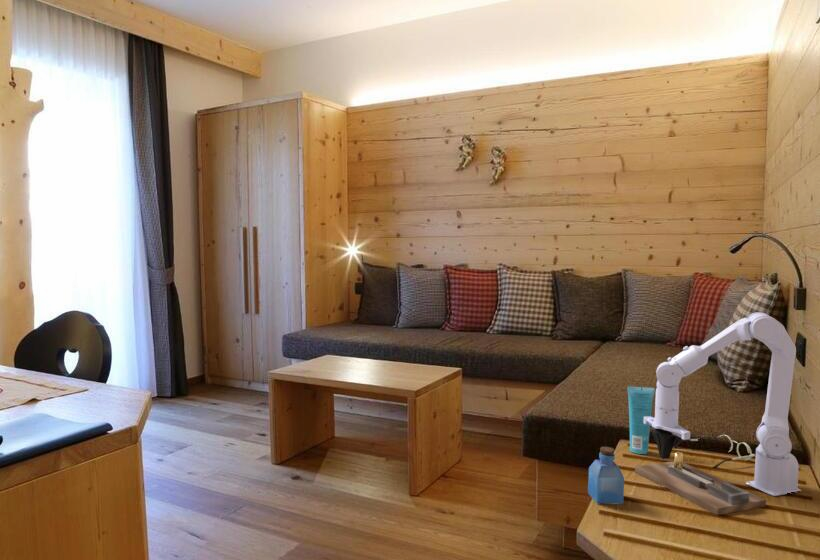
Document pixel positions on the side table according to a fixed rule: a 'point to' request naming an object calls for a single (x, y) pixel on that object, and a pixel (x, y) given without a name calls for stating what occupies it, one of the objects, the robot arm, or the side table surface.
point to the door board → (701, 488)
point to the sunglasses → (728, 451)
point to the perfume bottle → (606, 479)
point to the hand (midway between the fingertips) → (664, 457)
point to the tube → (639, 417)
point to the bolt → (678, 465)
